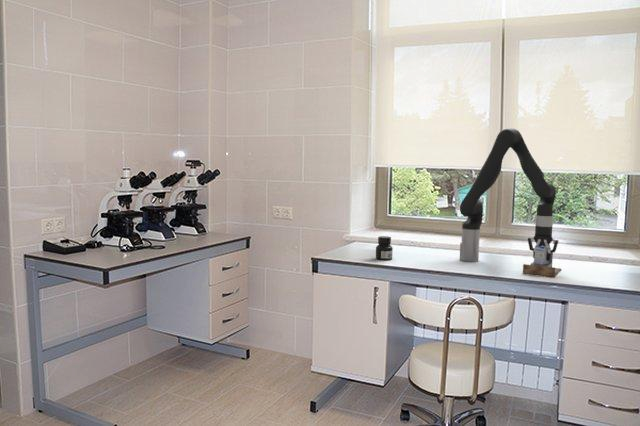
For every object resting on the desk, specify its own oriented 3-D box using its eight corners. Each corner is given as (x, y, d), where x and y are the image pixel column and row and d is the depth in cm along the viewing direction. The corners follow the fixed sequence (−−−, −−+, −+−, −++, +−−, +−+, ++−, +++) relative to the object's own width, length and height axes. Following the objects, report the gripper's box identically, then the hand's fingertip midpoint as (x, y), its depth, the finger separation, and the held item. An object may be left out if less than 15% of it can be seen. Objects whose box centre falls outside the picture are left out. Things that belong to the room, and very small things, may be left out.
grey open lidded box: (529, 272, 252) (530, 253, 251) (534, 268, 262) (535, 250, 261) (547, 274, 247) (549, 255, 247) (551, 270, 258) (552, 252, 257)
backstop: (522, 273, 252) (523, 264, 252) (531, 266, 272) (532, 257, 271) (554, 277, 245) (554, 268, 244) (561, 269, 264) (561, 260, 264)
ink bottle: (383, 261, 278) (384, 238, 276) (371, 258, 284) (372, 236, 283) (396, 259, 284) (396, 237, 283) (383, 257, 291) (384, 235, 289)
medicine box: (539, 263, 259) (541, 245, 259) (548, 264, 256) (551, 247, 255) (533, 263, 253) (535, 245, 253) (542, 265, 250) (544, 246, 250)
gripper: (526, 224, 253) (524, 259, 255) (559, 227, 246) (556, 263, 247) (529, 223, 260) (527, 257, 261) (561, 225, 252) (559, 260, 254)
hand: (541, 259), depth 254 cm, fingers closed on medicine box, 5 cm apart
